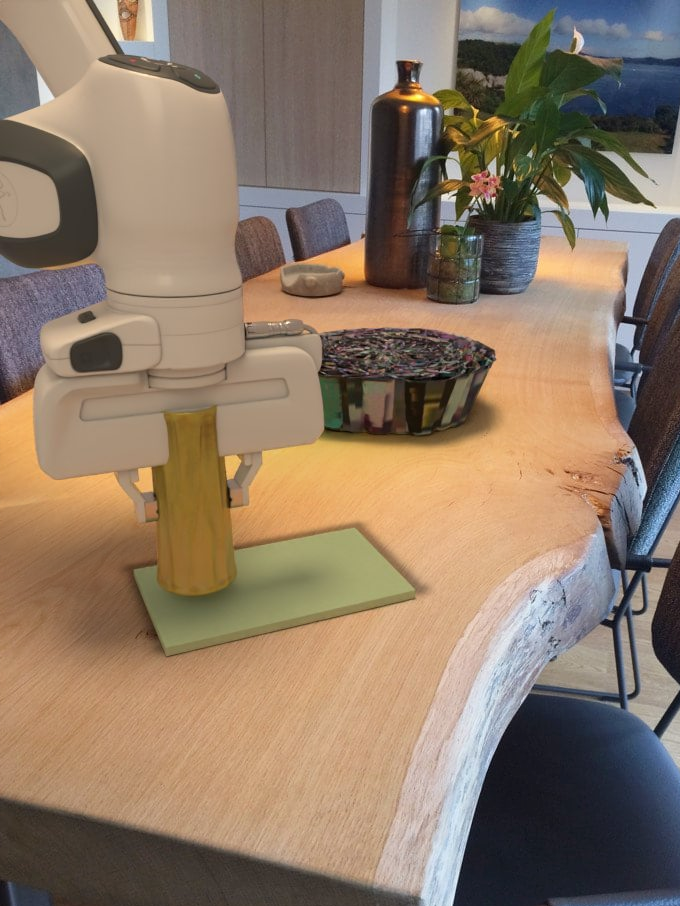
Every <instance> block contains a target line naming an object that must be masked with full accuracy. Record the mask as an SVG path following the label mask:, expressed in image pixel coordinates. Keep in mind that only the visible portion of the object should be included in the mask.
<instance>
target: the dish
mask: <svg viewBox="0 0 680 906" xmlns="http://www.w3.org/2000/svg"><path fill="white" fill-rule="evenodd" d="M345 276H346V274H345V271H343V270H342V269H341V268H340V267H338V266H332V267H330V266H328V265H327V264H320V263H305V262H303V263H302V262H300V263H298V262H297V263H291V264H287V265H283V266H281V267H280V269H279V280H280V284H281V288H282V290H283V291H284V292H285V293H287V294H291V295H294V296H300V297H302V296H303V297H322V296H323V297H324V296H330V295H336V294H338V293H340V292H341V291H342V288H343V281H344V280H345Z"/></svg>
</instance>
